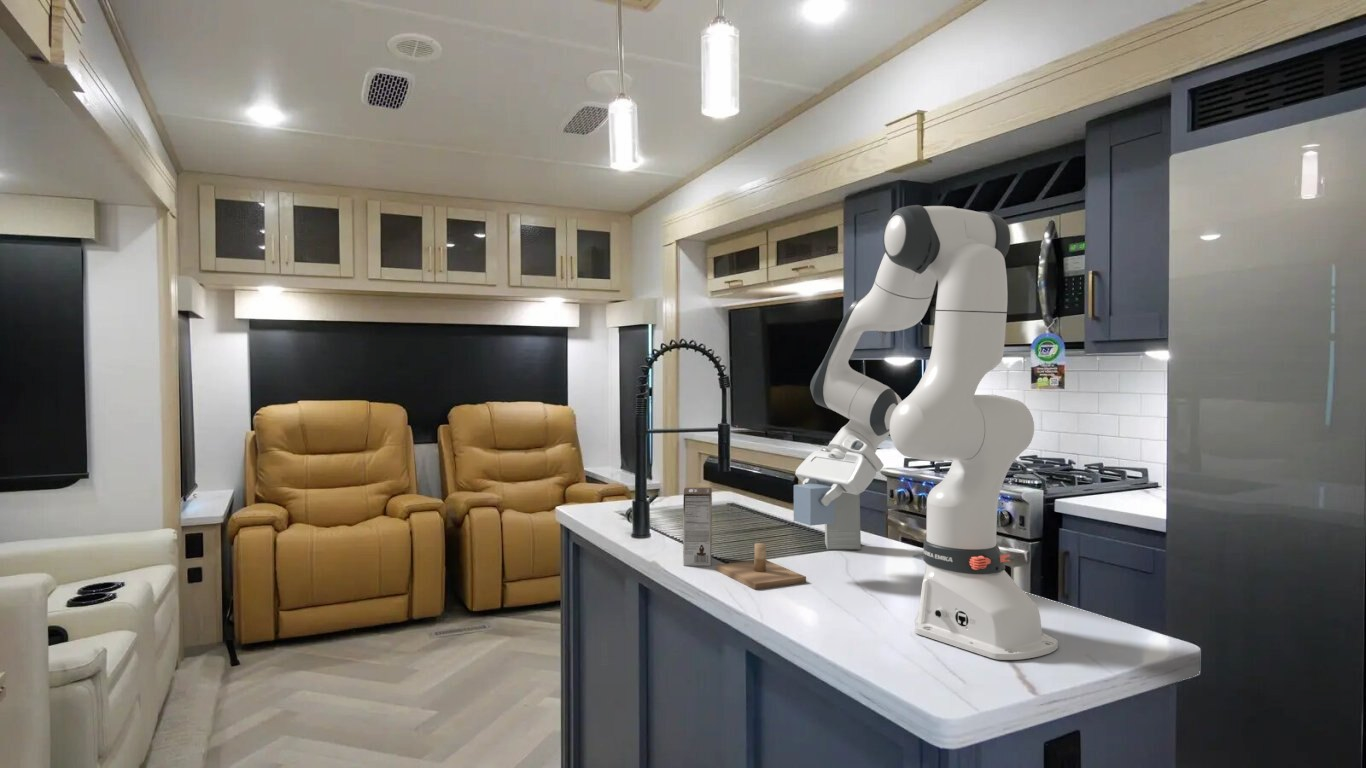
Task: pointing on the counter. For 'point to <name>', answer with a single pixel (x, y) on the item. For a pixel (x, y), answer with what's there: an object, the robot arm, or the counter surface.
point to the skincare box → (844, 524)
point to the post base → (760, 571)
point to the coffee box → (697, 526)
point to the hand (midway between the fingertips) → (811, 501)
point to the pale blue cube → (812, 505)
